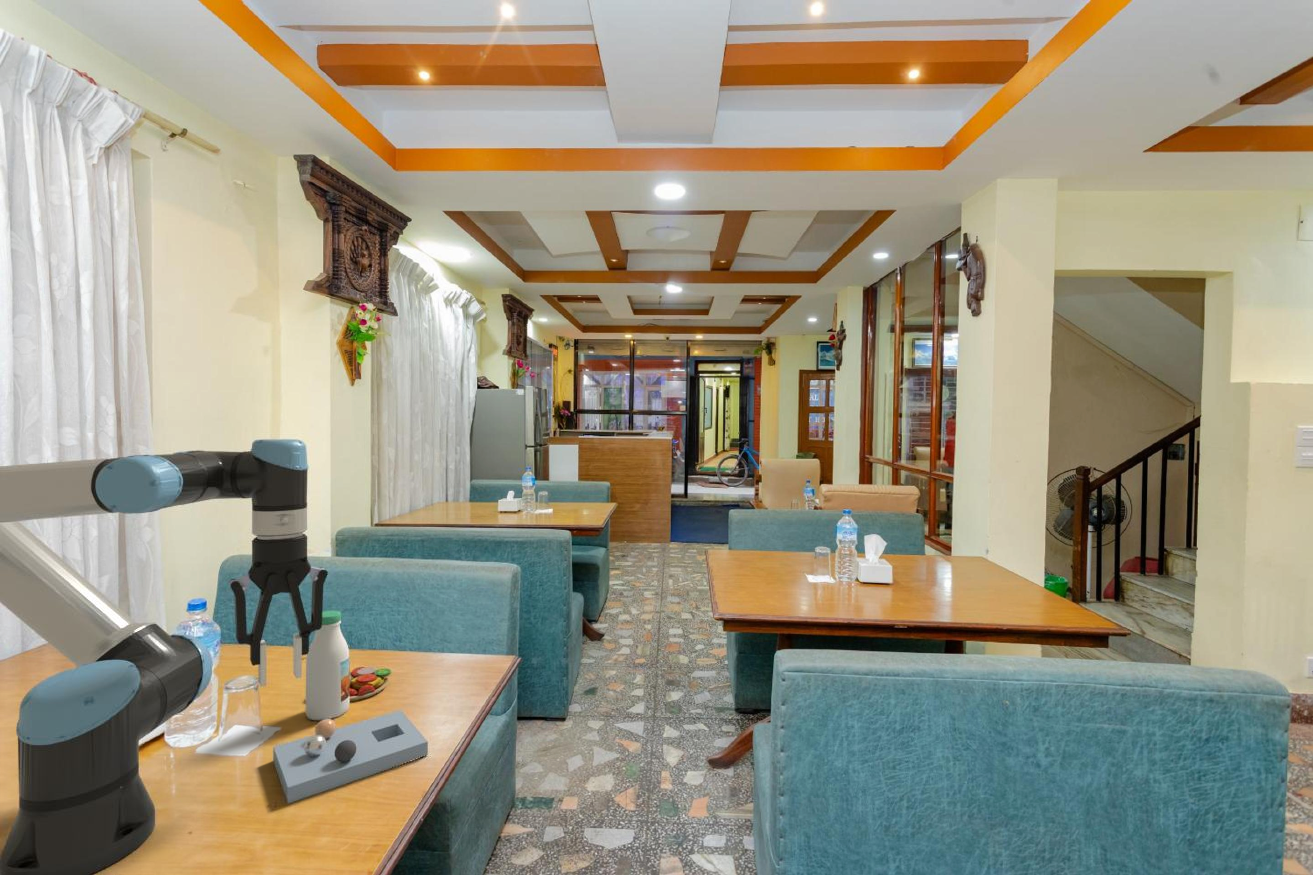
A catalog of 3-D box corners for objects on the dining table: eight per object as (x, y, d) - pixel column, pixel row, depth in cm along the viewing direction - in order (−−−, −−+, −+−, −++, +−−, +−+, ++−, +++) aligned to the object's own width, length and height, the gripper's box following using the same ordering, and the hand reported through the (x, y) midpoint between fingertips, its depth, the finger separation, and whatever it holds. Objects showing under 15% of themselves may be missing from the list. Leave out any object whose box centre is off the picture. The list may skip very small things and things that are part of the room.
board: (287, 803, 90) (287, 787, 90) (273, 760, 102) (273, 746, 102) (427, 755, 104) (427, 741, 104) (400, 722, 115) (400, 709, 115)
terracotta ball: (317, 744, 102) (317, 726, 102) (313, 737, 105) (313, 719, 105) (337, 738, 104) (337, 720, 104) (333, 731, 107) (333, 713, 107)
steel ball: (306, 762, 97) (306, 742, 97) (302, 753, 99) (302, 735, 99) (328, 755, 99) (328, 736, 99) (324, 747, 101) (324, 729, 101)
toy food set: (306, 701, 124) (306, 686, 124) (348, 675, 137) (348, 661, 137) (364, 706, 122) (364, 691, 122) (401, 680, 135) (401, 665, 135)
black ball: (337, 768, 95) (337, 748, 95) (332, 759, 98) (332, 740, 98) (358, 761, 97) (358, 741, 97) (353, 752, 100) (353, 734, 100)
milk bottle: (330, 723, 114) (330, 620, 114) (296, 719, 116) (296, 617, 116) (358, 705, 122) (358, 608, 122) (325, 701, 124) (325, 606, 123)
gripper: (215, 544, 87) (215, 702, 87) (344, 532, 98) (344, 672, 98) (211, 537, 93) (212, 685, 93) (334, 526, 104) (334, 659, 104)
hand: (280, 678), depth 96 cm, fingers open, 4 cm apart
